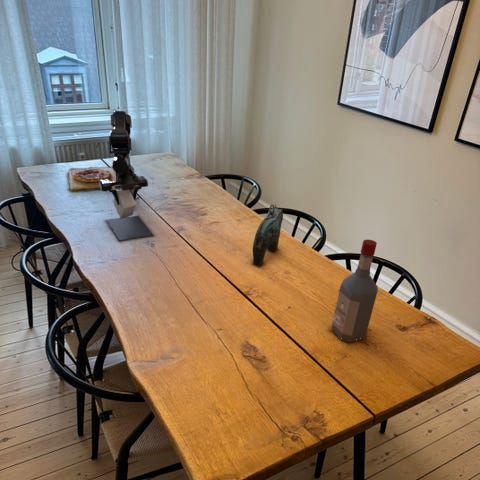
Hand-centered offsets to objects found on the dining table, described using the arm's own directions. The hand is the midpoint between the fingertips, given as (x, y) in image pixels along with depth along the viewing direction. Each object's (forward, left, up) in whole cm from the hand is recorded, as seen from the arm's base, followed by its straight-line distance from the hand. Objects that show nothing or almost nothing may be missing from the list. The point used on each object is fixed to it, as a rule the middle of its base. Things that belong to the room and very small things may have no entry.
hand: (125, 203), depth 187 cm
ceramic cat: (-10, +62, -10) cm, 64 cm away
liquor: (+21, +106, -10) cm, 109 cm away
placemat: (+2, +2, -10) cm, 10 cm away
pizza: (-35, -54, -10) cm, 65 cm away
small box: (-3, -5, -4) cm, 7 cm away
